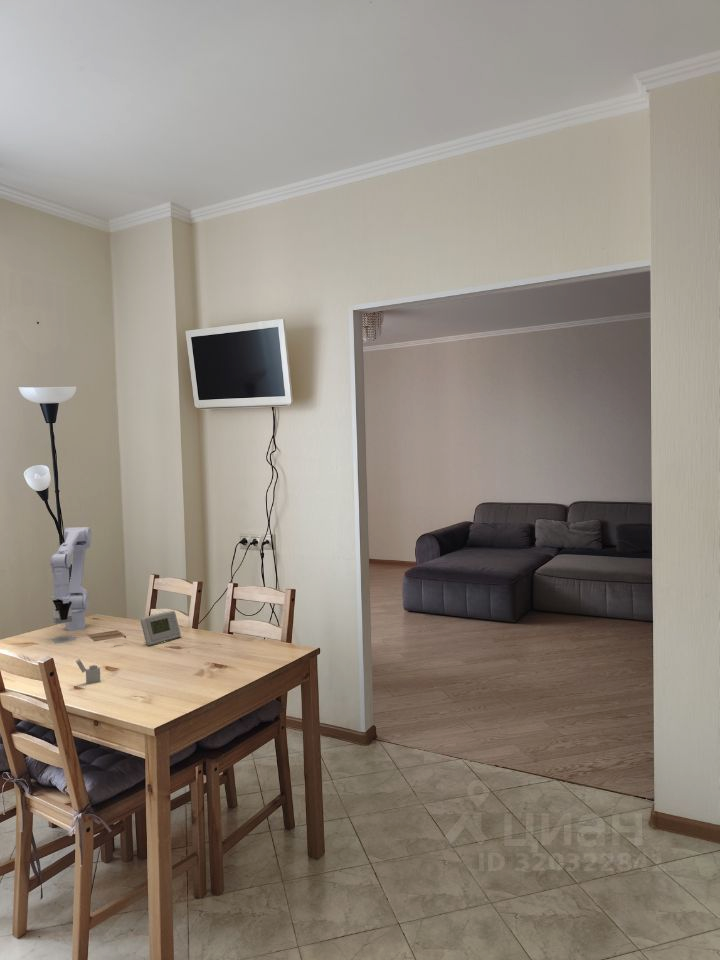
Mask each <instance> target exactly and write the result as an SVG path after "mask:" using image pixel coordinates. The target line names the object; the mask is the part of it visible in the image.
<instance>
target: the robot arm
mask: <svg viewBox="0 0 720 960" xmlns="http://www.w3.org/2000/svg"><path fill="white" fill-rule="evenodd" d="M63 539H64V542H63V543H61V544H60V546H59V548H58V549H57V550H56V552H55V553H54V554H53V555H51V556H50V562H49V563H50V564H49V565H50V567H51V568H50V569H51V573H52V581H53V583H52V584H53V595H51V596H50V599H53V600H52V603H53V604H54V607H55V609H59V613H60V618H61V620H66V619H67V618H68V612H69V608H71V610H72V622H65V629H66V631H69V632H76V631H82V630H85V629H86V610H87V609H88V608H89V606H90V598H89V595H90V594H89V592H88V590H87V589H86V588H84V587H83V582H84V573H85V560H86V559H85V557H86V552H87V549H89V548H90V547H91V543H92V531H91V528H90V527H89V526H83V527H82V526H80V527H76V526H75V527H66V528H65V529H64V532H63ZM71 562H72V563H71ZM70 568H71V571H70ZM70 573H71V575H70Z"/></svg>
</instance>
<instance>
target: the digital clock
mask: <svg viewBox="0 0 720 960" xmlns="http://www.w3.org/2000/svg"><path fill="white" fill-rule="evenodd" d="M140 625H141V628H142V632H143V635H144V640H145V644H146V646H153V645H155V644H156V645H159V644H162V643H161V642H163V643H165V642H164V641H167V642H169V641H168V640H170V641H172V640H171V639H174V640H175V639H179V638H181V630H180V625H179V622H178V618H177V614H176V612H175V611H174V610H169V611H164V612H161V613H156V614H152V615H149V616H144V617H142V618H141V619H140ZM178 637H179V638H178ZM158 643H159V644H158Z"/></svg>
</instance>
